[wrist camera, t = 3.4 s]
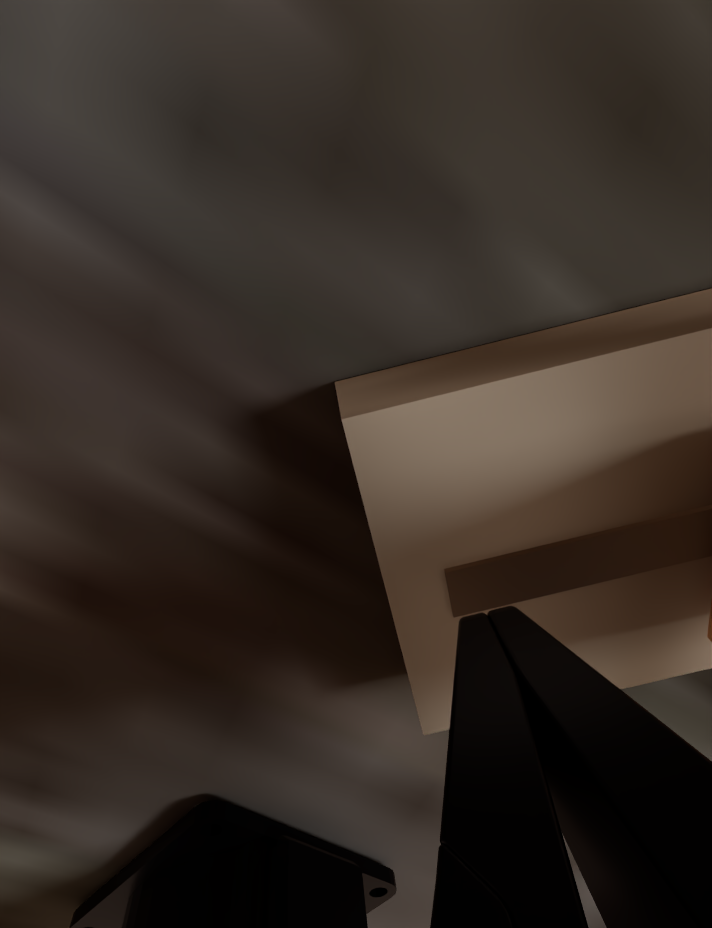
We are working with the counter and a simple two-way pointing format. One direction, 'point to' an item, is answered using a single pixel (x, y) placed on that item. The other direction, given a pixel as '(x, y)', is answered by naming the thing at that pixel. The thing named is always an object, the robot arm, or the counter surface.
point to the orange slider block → (710, 624)
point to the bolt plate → (547, 492)
